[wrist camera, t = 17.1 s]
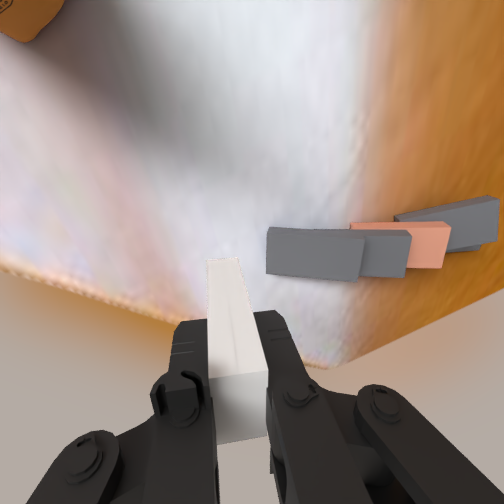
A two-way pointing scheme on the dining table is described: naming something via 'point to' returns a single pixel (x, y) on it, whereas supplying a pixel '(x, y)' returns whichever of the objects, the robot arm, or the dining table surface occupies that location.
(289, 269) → the domino
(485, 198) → the domino
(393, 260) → the domino
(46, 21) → the coffee package
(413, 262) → the domino
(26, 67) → the dining table surface
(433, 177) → the dining table surface
